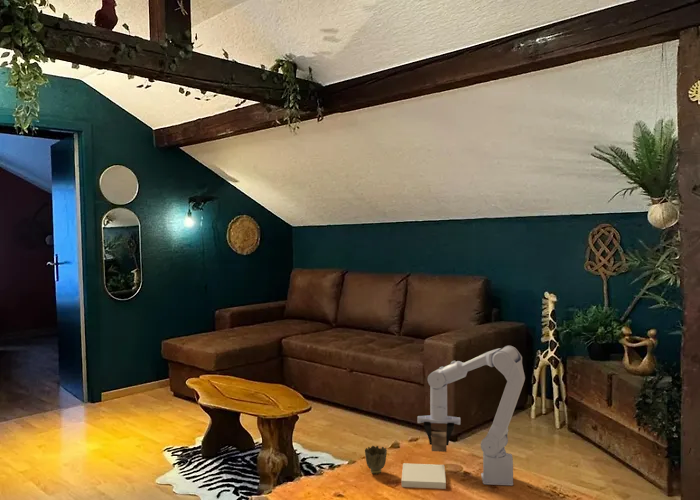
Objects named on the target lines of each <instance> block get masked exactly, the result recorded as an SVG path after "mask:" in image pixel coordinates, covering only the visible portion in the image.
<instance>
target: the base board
mask: <svg viewBox="0 0 700 500" xmlns="http://www.w3.org/2000/svg"><path fill="white" fill-rule="evenodd" d="M446 484H447V481H446V468H445V464H434V463H433V464H431V463H430V464H429V463H410V462H409V463H407V462H404V463H402V472H401V485H400V486H401V488H419V489H420V488H423V489H440V490H441V489H443V490H446V489H447V488H446V487H447V485H446Z"/></svg>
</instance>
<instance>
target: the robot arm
mask: <svg viewBox="0 0 700 500" xmlns="http://www.w3.org/2000/svg"><path fill="white" fill-rule="evenodd" d="M483 366H489V367H490V368H493V367H495V368H496V370H497V371H498V372H500V373H501V374H502V375H503V376H504V378H505V380H506V384H505V387H504V389H503V393H502V395H501V399H500V401H499V405H498V407H497V410H496V413H495V414H494V415H495V416H494V418H493V422H492V424H491V426H490V428H489V430H488V431H487V433H486V435H485V437H484V438H482V440H481V442H480V449H481V451H482V452H483V453H482V456H483V457H482V462H483V463H482V465H483V466H482V467H483V468H482V472H481V473H480V476H481V481H482V484H483V485H492V486H493V485H494V486H497V485H498V486H514V461H513V454H511V453H509V452H508V453H507V451H506V448H505V447H506V446H507V445H508V443H509V438H508V434H509V425H510V423H511V421H512V417H513V415H514V412H515V409H516V406H517V404H518V400H519V398H520V395H521V392H522V389H523V386H524V383H525V380H526V375H525V372H524V366H523V356H522V354H521V353H520V352H519V350H518V349H517V348H516V347H514V346H512V345H505V346H504V347H501V348H495V349H492V350H489V351H485V352H484V353H482V354H480V355H478V356H476V357H474V358H472V359H469V360H467V361H465V362H464V361H463V362H462V361H460V360H457V361H456V360H452V361H451V362H450V364H448V365H445V366H443V365H442V366H440V367H439V368H437V369H436V370H434V371H432V372H430V373H429V374H428V376H427V383H428V385H429V386H430V387H429V388H430V389H429V390H430V391H429V392H430V393H429V394H430V395H429V397H430V400H429V404H430V406H429V407H430V409H429V410H430V415H418V416H417V422H416V423H417V424H422V423H423V428H424V431H425V432H426V434H427V437H428V442H429V445H430V446H432V424H446V446H449V443H450V442H449V441H450V438H451V435H452V434H453V431H454V430H455V429H454V428H455V425H458V426H460V425H461V417H460V416H459V417H457V416H452V415H448V384H451V383H454V382H457V381H459V380H461V379H463V378H466V377H467V374H468V372H470V371H473V370H475V369H478V368H481V367H483Z"/></svg>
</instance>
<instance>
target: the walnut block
mask: <svg viewBox="0 0 700 500" xmlns="http://www.w3.org/2000/svg"><path fill="white" fill-rule="evenodd" d="M446 436H447V431H431V438H432V445H431V452H439V453H440V452H443V453H446V452H448V451H447V445H446Z"/></svg>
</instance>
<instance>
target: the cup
mask: <svg viewBox="0 0 700 500" xmlns="http://www.w3.org/2000/svg"><path fill="white" fill-rule="evenodd" d="M364 449H365V450H364V453H365V456H364V457H365V463H366V465H367V467H368V468H369V469H370V473H371V474H373V475H380V474H381V472H382V469H383V468H384V466H385V465H386V460H387V453H388V450H387V448H386V447H384V446H381V448H379V445H376V446H375V445H372V446H368V447H366V448H364Z"/></svg>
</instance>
